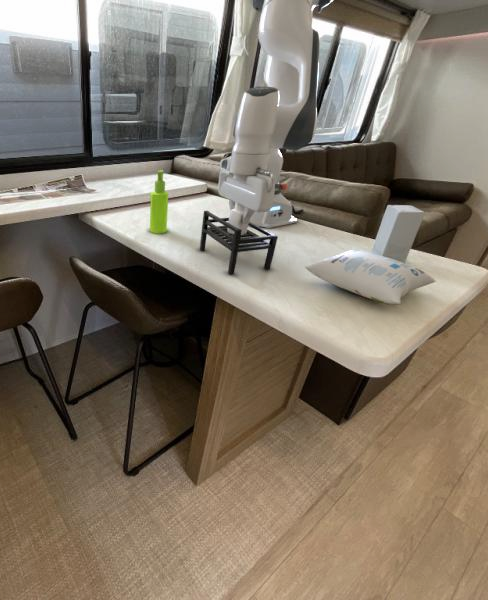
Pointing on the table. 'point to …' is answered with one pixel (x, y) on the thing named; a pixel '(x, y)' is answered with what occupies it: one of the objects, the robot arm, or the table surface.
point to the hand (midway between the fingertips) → (238, 220)
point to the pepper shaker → (237, 218)
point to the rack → (237, 239)
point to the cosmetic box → (397, 232)
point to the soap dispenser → (159, 206)
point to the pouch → (371, 275)
